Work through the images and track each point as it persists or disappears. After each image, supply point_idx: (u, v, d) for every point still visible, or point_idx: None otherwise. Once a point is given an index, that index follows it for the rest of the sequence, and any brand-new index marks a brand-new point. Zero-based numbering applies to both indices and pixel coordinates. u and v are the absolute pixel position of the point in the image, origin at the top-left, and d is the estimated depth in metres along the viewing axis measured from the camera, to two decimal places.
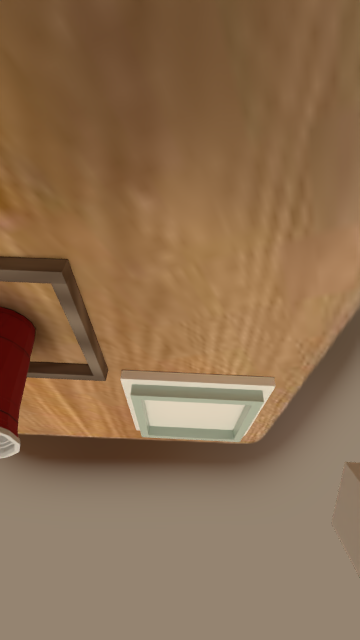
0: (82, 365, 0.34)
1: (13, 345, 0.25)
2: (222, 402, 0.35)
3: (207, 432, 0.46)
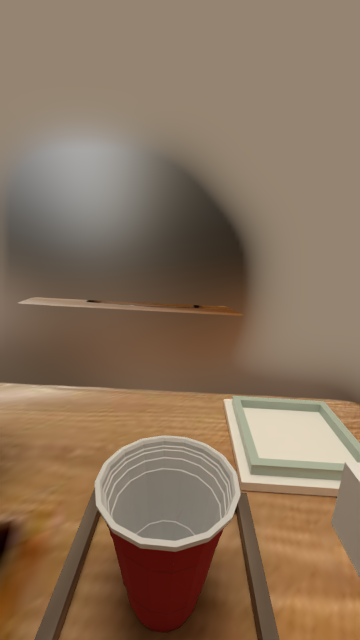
0: (239, 525, 0.30)
1: (149, 519, 0.26)
2: (241, 411, 0.46)
3: (331, 424, 0.45)
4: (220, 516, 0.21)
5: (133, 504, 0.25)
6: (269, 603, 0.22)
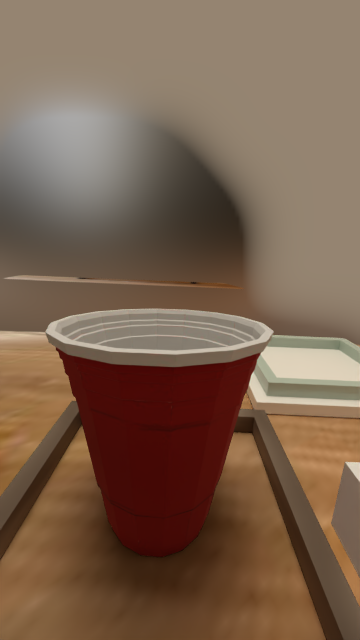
0: (257, 444, 0.23)
1: None
2: None
3: (355, 356, 0.38)
4: None
5: None
6: (312, 515, 0.15)
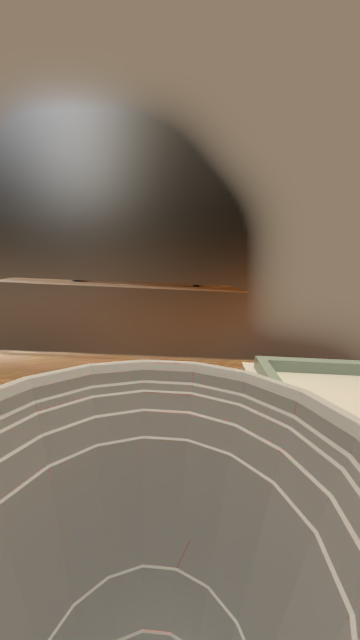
0: None
1: (109, 565, 0.11)
2: (272, 372, 0.30)
3: None
4: (334, 578, 0.06)
5: (60, 530, 0.09)
6: None
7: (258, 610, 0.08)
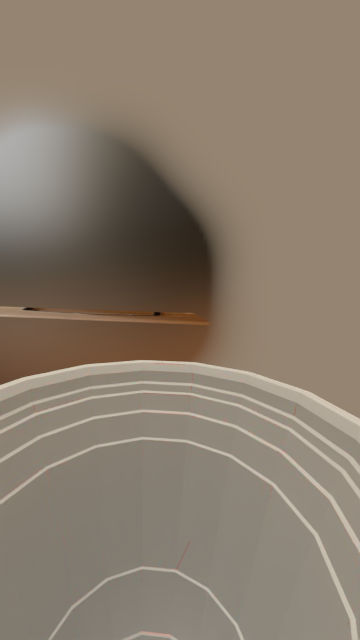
0: None
1: (108, 567, 0.11)
2: None
3: None
4: (334, 582, 0.06)
5: (58, 532, 0.09)
6: None
7: (258, 613, 0.08)
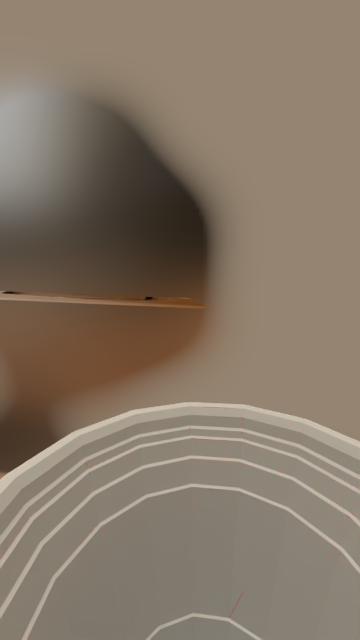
0: None
1: (160, 614, 0.10)
2: None
3: None
4: None
5: (113, 587, 0.09)
6: None
7: None
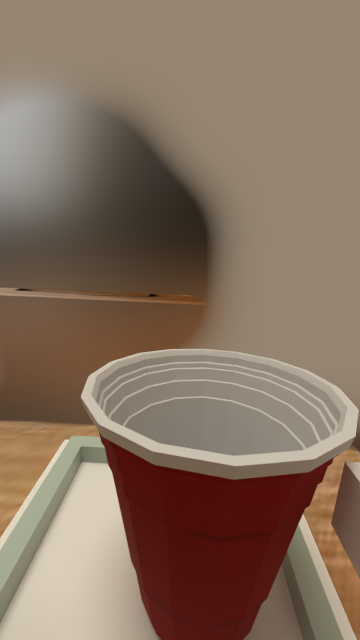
0: None
1: None
2: (53, 483, 0.19)
3: None
4: None
5: None
6: None
7: None
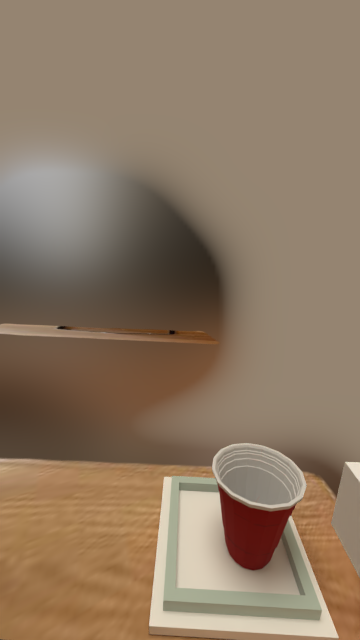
0: None
1: None
2: (175, 503, 0.40)
3: None
4: (291, 499, 0.33)
5: (228, 487, 0.37)
6: None
7: None
